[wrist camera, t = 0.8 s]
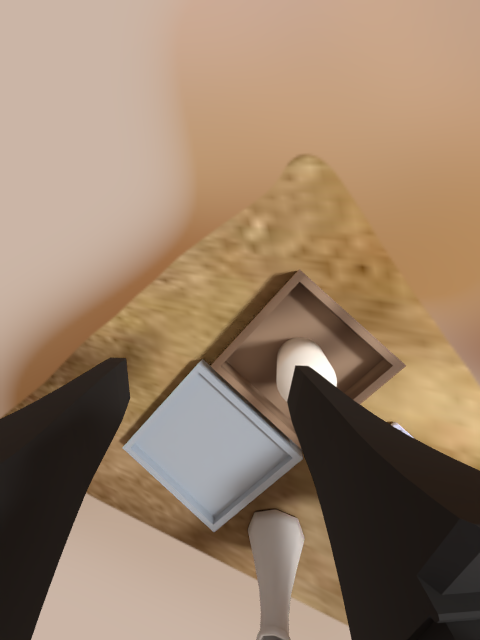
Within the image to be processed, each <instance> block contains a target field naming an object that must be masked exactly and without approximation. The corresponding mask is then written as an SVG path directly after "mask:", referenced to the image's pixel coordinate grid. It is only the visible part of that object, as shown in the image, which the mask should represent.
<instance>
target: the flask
mask: <svg viewBox="0 0 480 640" xmlns="http://www.w3.org/2000/svg"><path fill="white" fill-rule="evenodd" d="M248 534H249V539H250V543H251V548H252V553H253V557H254V563H255V568H256V574H257V579H258V585H259V591H260V606H261V624H260V631H259V633H258V635H257V639H256V640H290V637H289V609H290V599H291V592H292V588H293V584H294V579H295V575H296V570H297V566H298V562H299V558H300V555H301V551H302V547H303V543H304V539H305V538H304V535H303V532H302V529H301V526H300V523H299V520H298V519H297V518H295V517H293V516H290V515H288V514H286V513H283V512H281V511H279V510H276V509H275V510H268V511H261V512H254V515H253V517H252V520H251V522H250V525H249V527H248Z"/></svg>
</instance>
